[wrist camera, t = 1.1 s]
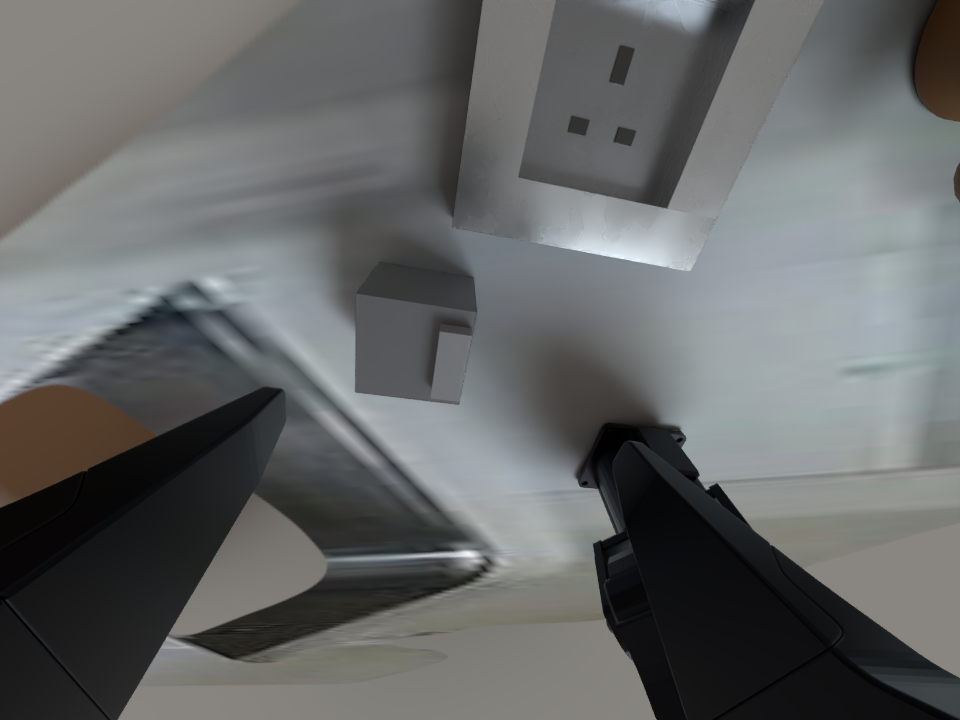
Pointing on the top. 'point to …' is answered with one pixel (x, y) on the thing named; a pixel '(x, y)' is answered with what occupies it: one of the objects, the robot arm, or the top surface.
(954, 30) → the mug
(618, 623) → the robot arm
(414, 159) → the top surface
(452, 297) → the plug
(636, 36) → the socket plate
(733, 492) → the top surface
